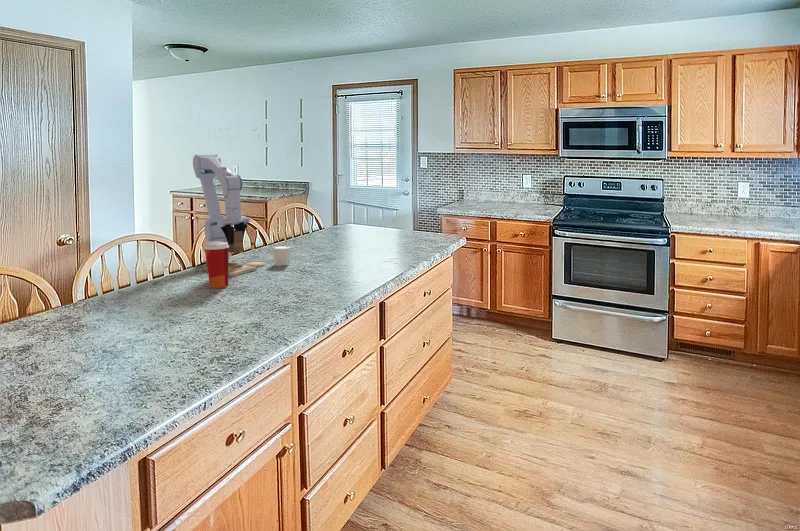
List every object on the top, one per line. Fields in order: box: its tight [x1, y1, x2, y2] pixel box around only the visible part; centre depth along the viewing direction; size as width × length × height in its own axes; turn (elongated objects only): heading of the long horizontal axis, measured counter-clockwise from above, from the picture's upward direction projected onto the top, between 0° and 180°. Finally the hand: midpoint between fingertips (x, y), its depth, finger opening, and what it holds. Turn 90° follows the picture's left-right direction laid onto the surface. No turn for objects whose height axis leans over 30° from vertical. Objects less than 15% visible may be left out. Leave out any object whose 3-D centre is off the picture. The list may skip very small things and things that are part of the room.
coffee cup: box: [203, 241, 229, 289], centre depth 193 cm, size 8×8×15 cm
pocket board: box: [202, 261, 258, 277], centre depth 218 cm, size 16×12×2 cm
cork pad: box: [243, 261, 266, 268], centre depth 228 cm, size 8×8×1 cm
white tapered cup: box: [272, 245, 291, 267], centre depth 229 cm, size 7×7×7 cm
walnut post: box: [228, 229, 244, 254], centre depth 218 cm, size 4×4×8 cm
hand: (235, 243), depth 218 cm, fingers closed on walnut post, 4 cm apart
